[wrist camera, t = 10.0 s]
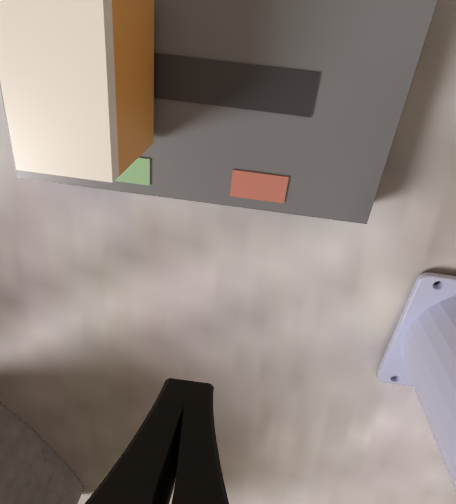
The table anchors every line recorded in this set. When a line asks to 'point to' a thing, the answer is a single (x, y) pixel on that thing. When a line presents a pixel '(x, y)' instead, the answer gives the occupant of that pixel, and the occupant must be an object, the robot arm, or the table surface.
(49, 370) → the table surface
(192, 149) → the panel
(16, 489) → the hip flask
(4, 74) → the knob
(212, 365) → the table surface
